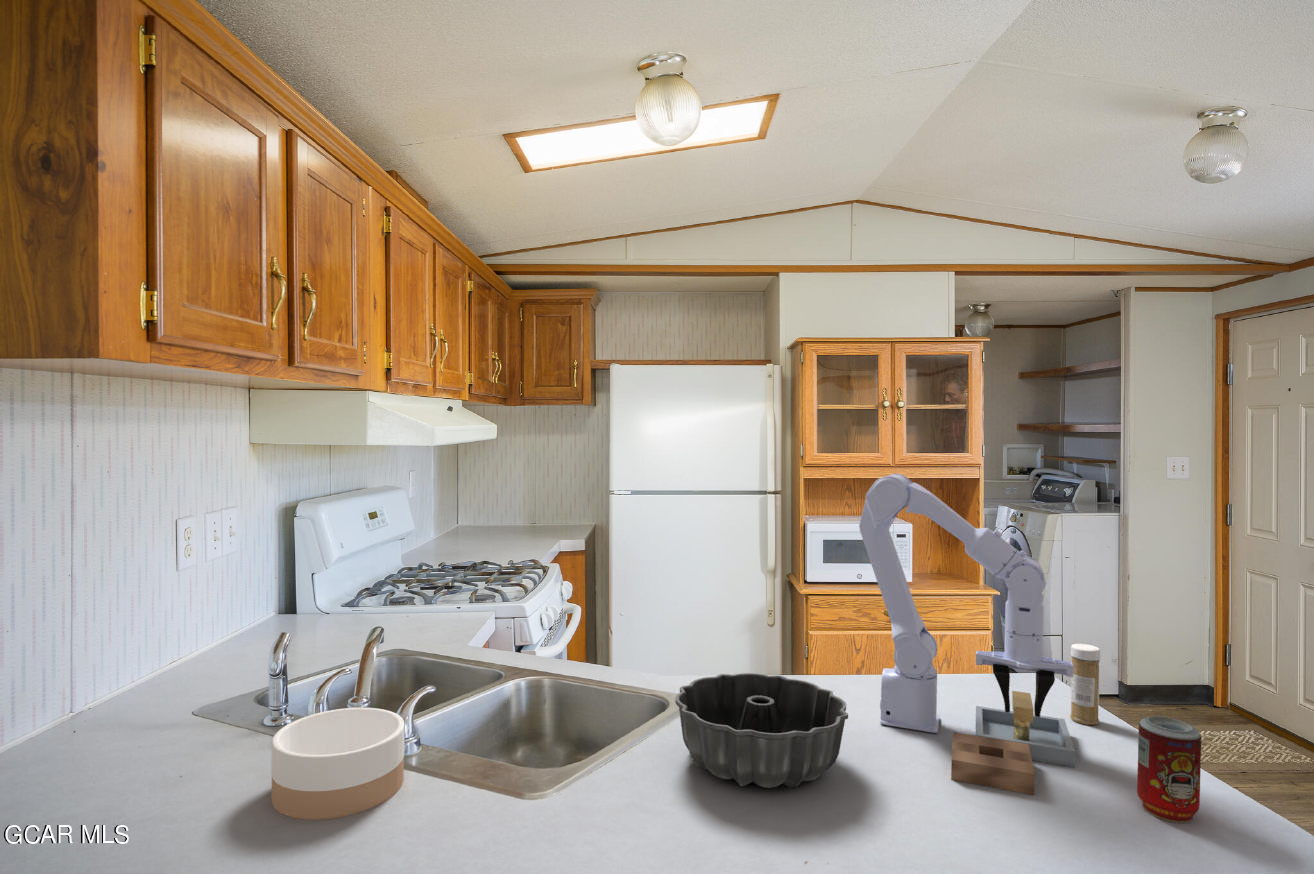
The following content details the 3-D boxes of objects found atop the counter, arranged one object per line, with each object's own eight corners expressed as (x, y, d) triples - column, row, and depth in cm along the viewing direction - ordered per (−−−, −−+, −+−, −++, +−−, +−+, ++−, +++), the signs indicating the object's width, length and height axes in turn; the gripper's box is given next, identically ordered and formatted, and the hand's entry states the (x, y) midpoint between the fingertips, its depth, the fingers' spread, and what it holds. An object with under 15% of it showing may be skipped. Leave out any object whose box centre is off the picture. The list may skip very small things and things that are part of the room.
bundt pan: (746, 716, 133) (747, 660, 133) (879, 765, 114) (881, 701, 114) (639, 760, 114) (640, 696, 114) (777, 828, 96) (779, 751, 95)
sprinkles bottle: (1103, 722, 132) (1105, 647, 132) (1090, 727, 130) (1092, 651, 129) (1077, 714, 136) (1079, 641, 136) (1064, 719, 133) (1066, 645, 133)
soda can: (1159, 825, 97) (1161, 733, 97) (1125, 798, 104) (1127, 712, 104) (1212, 826, 97) (1215, 734, 97) (1175, 799, 104) (1177, 713, 104)
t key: (1011, 728, 127) (1012, 690, 127) (1029, 731, 126) (1030, 693, 126) (1013, 746, 120) (1014, 706, 120) (1032, 749, 119) (1033, 709, 119)
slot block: (951, 779, 109) (951, 759, 109) (952, 750, 120) (953, 731, 120) (1034, 795, 105) (1034, 774, 105) (1028, 763, 115) (1028, 744, 115)
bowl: (428, 772, 110) (429, 716, 109) (344, 831, 93) (345, 765, 93) (335, 754, 115) (336, 700, 115) (241, 806, 99) (241, 744, 99)
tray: (976, 750, 120) (976, 735, 120) (975, 719, 132) (975, 705, 132) (1074, 767, 114) (1075, 751, 114) (1064, 733, 127) (1064, 719, 127)
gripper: (976, 632, 122) (975, 713, 122) (1076, 643, 117) (1074, 728, 117) (976, 622, 129) (974, 699, 129) (1071, 632, 123) (1069, 713, 123)
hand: (1022, 712), depth 123 cm, fingers open, 4 cm apart
